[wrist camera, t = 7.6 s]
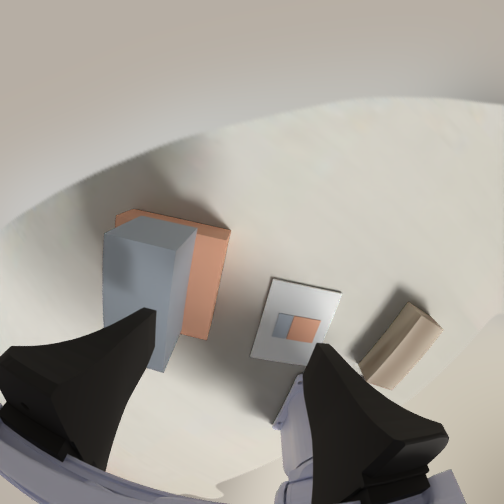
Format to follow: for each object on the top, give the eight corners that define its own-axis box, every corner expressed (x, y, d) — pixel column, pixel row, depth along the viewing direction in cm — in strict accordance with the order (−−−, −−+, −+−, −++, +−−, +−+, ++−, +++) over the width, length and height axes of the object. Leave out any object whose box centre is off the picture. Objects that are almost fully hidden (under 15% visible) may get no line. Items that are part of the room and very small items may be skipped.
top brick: (181, 329, 20) (163, 372, 15) (133, 316, 19) (106, 353, 15) (197, 228, 17) (175, 250, 13) (141, 215, 17) (104, 233, 12)
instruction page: (311, 365, 24) (311, 367, 24) (249, 355, 24) (249, 357, 24) (341, 292, 22) (342, 294, 22) (273, 278, 22) (273, 279, 21)
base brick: (212, 320, 23) (206, 340, 20) (126, 297, 22) (111, 313, 19) (231, 230, 20) (226, 240, 18) (133, 208, 20) (115, 215, 17)
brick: (429, 315, 23) (443, 329, 20) (382, 372, 25) (391, 390, 22) (406, 300, 22) (421, 315, 20) (357, 362, 25) (366, 381, 22)
